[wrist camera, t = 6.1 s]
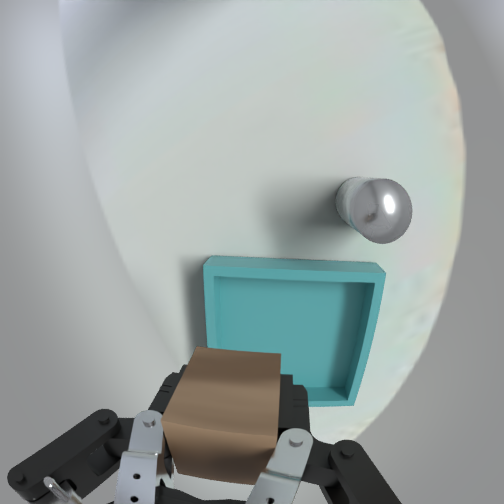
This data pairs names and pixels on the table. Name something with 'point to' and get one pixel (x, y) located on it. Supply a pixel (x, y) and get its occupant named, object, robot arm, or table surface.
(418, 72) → the table surface
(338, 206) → the metal cylinder
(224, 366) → the walnut block
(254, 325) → the parts tray
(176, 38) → the table surface
